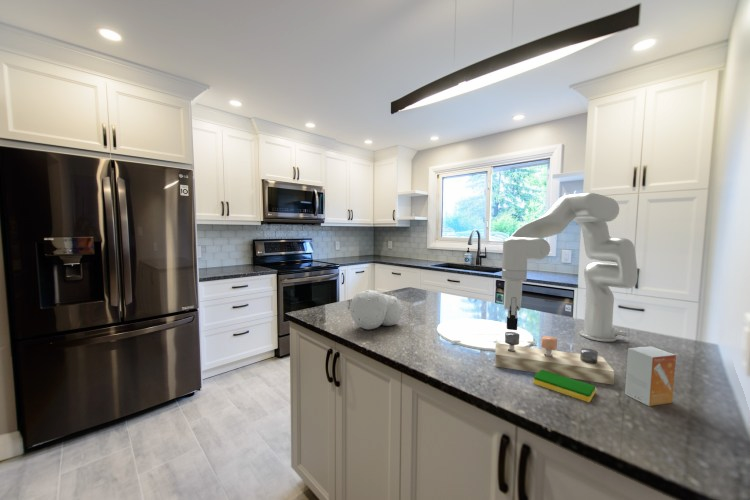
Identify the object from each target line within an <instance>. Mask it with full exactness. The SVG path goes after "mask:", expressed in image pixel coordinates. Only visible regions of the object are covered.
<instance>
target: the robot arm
mask: <svg viewBox="0 0 750 500" xmlns="http://www.w3.org/2000/svg"><path fill="white" fill-rule="evenodd" d="M619 214H620V206H619V203H618V202H617V201H616V200H615V199H614V198H611V197H609V196H606V195H602V194H599V193H595V192H585V193H583V192H582V193H574V194H572V193H571V194H566V195H563V196H561V197H559V198H558V199H557V200H556V201H555V202H554V203H553V204H552V205H551V207H550V208H549V209H548V210H547V211H546V212H545V213H544V214H543V215H542V216H540V217H537V218H536V219H534V220H531V221H530V222H528V223H525V224H524V225H522V226H520V227H519V228H517V229H516V230H515V231H514V232H513V233H512V234H511V235H510V237H507V238H505V239H504V240H503V243H502V263H501V265H502V267H501V268H502V269H501V280H504V285H503V286H504V288H503V309H504V311H505V310H507V316H506V324H507V329H509V330H517V327H518V321H519V320H518V312H519V311H520V310H521V306H522V294H523V282H525V281H527V275H528V274H527V273H528V272H527V269H528V260H532V261H540V260H543V259H545V258H547V257H548V256H549V254H550V252H551V246H550V244H549V242H548V241H547V240H546V239H545V238H549V237H552V236H556V235H558V234H561V233H563V231H564V230H566V228H568V226H569V225H570V224H571V223H572V221H573V222H575V223H577V224H578V225H579V227H580V228H581V231H582V239H583V243H584V245H583V246H584V250H585V256H586V257H587V258H588V259H589V260H592V261H593V262H590V263H588V264H586V266H585V267H584V270H583V276H584V281H585V303H584V304H585V305H584V307H585V308H584V323H583V325H584V326H583V329H581V330H579V334H580V336H581V337H583V338H586V339H589V340H593V341H597V342H603V343H604V342H606V343H610V342H616V341H617V336H620V337H627V335H628V334H627V331H625V330H621V329H615V328H614V327H613V321H614V320H613V319H614V305H615V304H614V302H615V296H614V293H613V291H612V290H611V288H618V289H625V290H626V289H632V288H634V287H636V285H637V282H638V278H639V277H638V274H639V273H638V264H637V256H636V254H637V253H636V249H635V248H636V247H635V245H634V243H633V241H632V240H630V239H628V238H625V237H611V236H610V232H609V226H608V222H609V223H610V222H611V221H615V219H616V218H617V217H618V215H619ZM610 287H611V288H610Z"/></svg>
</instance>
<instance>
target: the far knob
mask: <svg viewBox="0 0 750 500" xmlns="http://www.w3.org/2000/svg"><path fill="white" fill-rule="evenodd" d="M505 343H507V344H509V352H514V345H518V344H519V334H518V333H515V332H505Z"/></svg>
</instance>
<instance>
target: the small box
mask: <svg viewBox="0 0 750 500" xmlns="http://www.w3.org/2000/svg"><path fill="white" fill-rule="evenodd" d="M676 360H677V354H674V353H672V352H669V351H666V350H663V349H660V348H657V347H655V346H651V345H650V346H637V347H630V348H627V358H626V372H625V373H626V374H625V375H626V377H625V387H624V388H625V389H624V394H625V395H626V396H628V397H630V398H632V399H634V400H636V401H638V402H640V403H642V404H644V405H646V406H648V407H653V406H658V405H665V404H671V403H673V397H674V385H675V373H676V362H677V361H676Z"/></svg>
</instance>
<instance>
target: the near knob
mask: <svg viewBox="0 0 750 500" xmlns="http://www.w3.org/2000/svg"><path fill="white" fill-rule="evenodd" d="M579 354H580V359H581V360H582V361H584V362H587V363H597V359H598V356H599V352H598V350H596V349H592V348H585V347H582V348H580V352H579Z"/></svg>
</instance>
